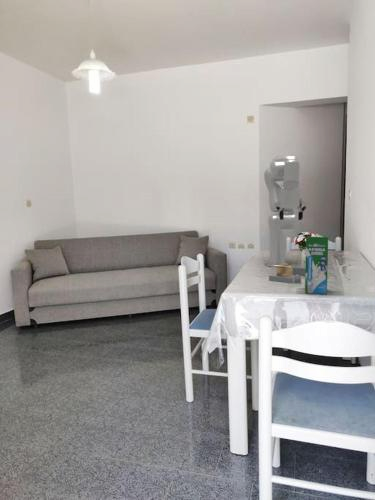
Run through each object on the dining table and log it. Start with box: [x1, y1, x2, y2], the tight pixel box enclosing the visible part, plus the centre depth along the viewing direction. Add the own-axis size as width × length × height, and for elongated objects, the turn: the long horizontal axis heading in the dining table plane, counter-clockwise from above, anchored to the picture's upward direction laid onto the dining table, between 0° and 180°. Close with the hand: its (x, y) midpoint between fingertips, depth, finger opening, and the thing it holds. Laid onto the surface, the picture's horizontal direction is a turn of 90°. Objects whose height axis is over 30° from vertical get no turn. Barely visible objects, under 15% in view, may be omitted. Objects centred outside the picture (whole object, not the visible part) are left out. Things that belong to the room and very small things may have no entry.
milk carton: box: [304, 235, 329, 295], centre depth 170 cm, size 9×9×25 cm
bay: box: [268, 266, 305, 285], centre depth 193 cm, size 15×20×5 cm
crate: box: [275, 264, 294, 278], centre depth 190 cm, size 6×6×7 cm
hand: (290, 219), depth 195 cm, fingers open, 9 cm apart
